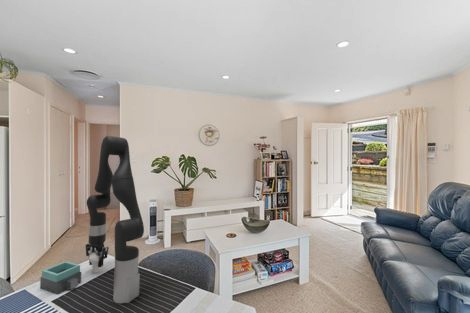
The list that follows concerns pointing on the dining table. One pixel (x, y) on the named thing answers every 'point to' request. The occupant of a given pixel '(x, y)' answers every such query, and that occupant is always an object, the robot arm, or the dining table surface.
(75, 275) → the teal and grey box
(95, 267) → the lightbulb
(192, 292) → the dining table surface
